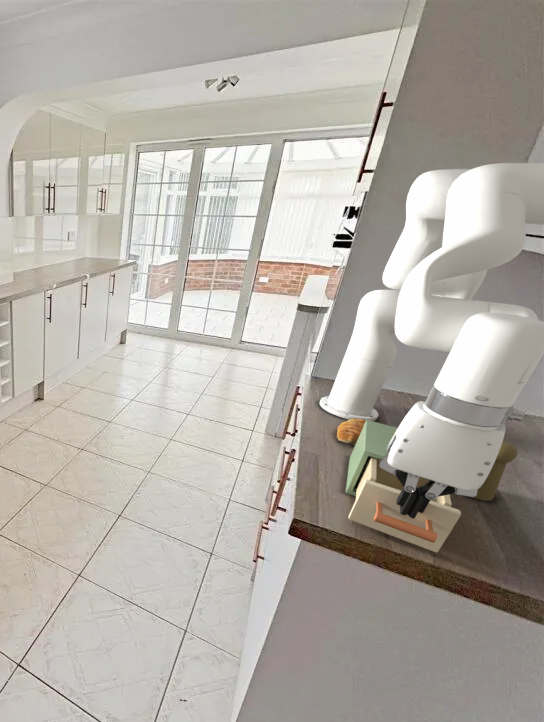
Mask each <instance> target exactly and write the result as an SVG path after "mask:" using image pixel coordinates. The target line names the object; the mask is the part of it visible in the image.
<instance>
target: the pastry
mask: <svg viewBox="0 0 544 722" xmlns="http://www.w3.org/2000/svg"><path fill="white" fill-rule="evenodd" d="M365 422H366V421H365V420H362V419H351V420H349V419H347V420H346V421H343V422H341V423H340V424H339V425H338V426H337V428H336V439H337V440H338V441H340V442H343V443H345V444H347V445H348V444H349V445H351V446H354V447H355V445H356V443H357V440H358V438H359V436H360V433H361V431H362V429H363V427H364V424H365Z"/></svg>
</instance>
